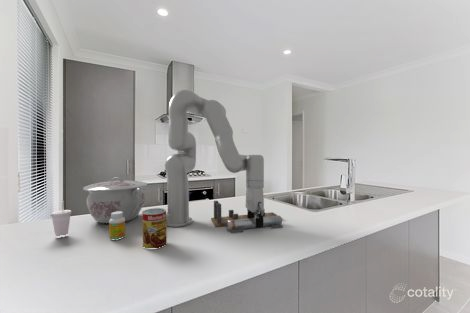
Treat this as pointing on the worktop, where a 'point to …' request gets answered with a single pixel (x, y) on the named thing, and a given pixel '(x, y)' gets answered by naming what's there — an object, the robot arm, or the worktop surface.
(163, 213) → the canned food
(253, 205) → the robot arm
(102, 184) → the chamber pot
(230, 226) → the tube
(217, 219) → the brown board
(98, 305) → the worktop surface
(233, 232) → the set of grey slats
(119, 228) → the supplement bottle
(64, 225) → the smoothie
